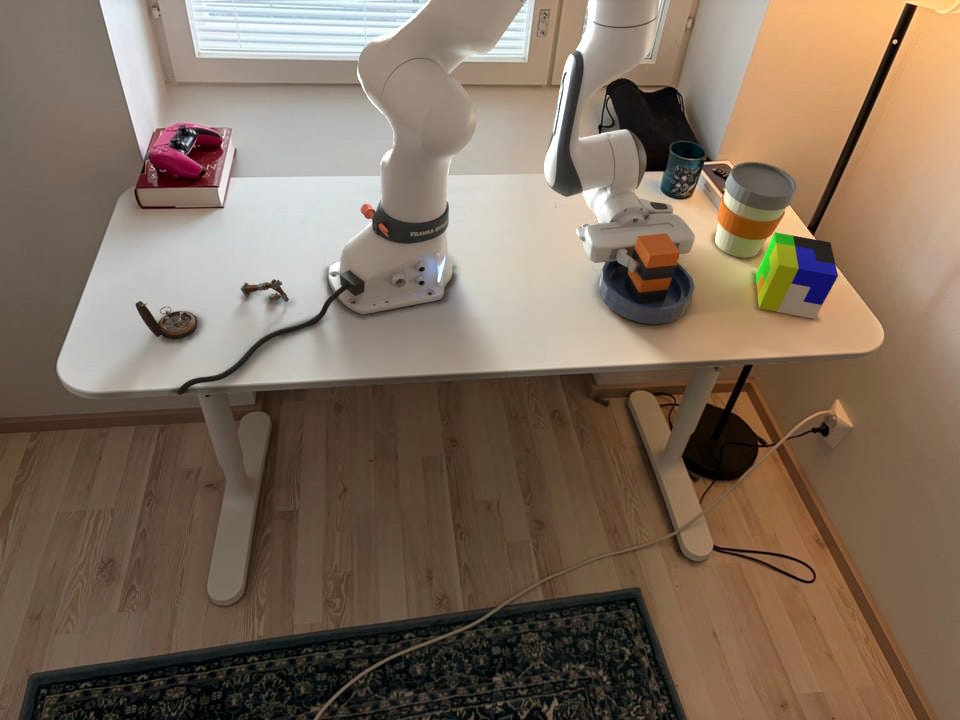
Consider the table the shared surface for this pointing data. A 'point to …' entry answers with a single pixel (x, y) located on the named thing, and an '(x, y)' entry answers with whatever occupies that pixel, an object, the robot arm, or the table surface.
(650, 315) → the bowl
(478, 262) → the table surface
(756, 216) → the reusable coffee cup
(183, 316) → the compass
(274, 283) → the gnarled brown twig
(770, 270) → the puzzle toy
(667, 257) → the puzzle tower
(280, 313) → the table surface
